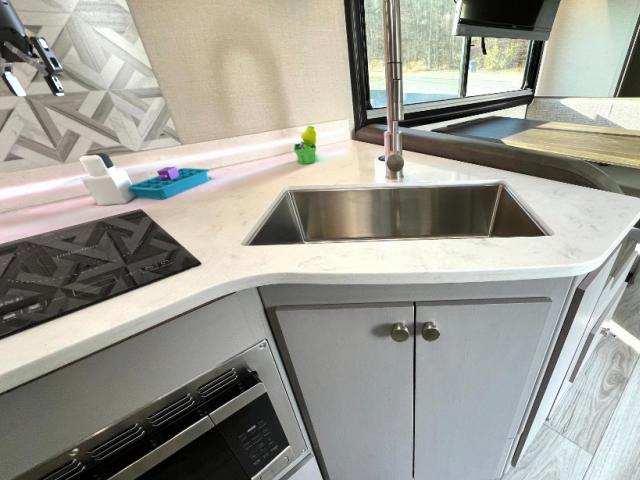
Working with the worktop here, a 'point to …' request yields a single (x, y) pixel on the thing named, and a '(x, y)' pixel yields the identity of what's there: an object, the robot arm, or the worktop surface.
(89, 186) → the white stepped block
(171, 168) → the candy
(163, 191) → the ice cube tray
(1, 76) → the robot arm
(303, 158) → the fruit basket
